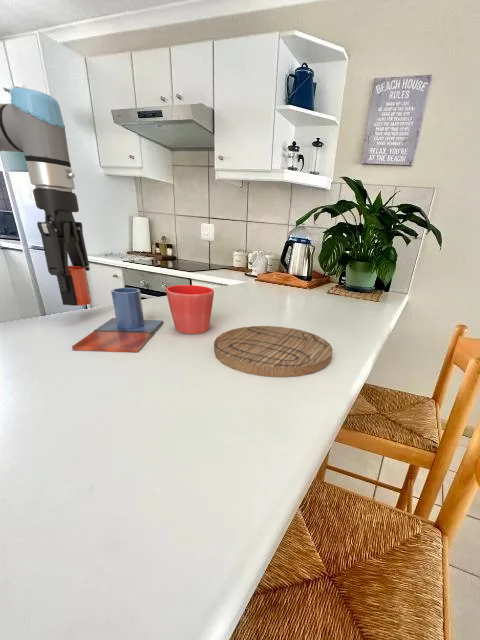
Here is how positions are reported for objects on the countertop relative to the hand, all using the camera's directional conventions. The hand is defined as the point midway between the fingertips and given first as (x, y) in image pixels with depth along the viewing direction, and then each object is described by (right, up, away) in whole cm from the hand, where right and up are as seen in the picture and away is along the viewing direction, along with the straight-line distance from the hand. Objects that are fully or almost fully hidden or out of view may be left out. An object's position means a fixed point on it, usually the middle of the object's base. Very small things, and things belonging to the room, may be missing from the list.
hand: (77, 301), depth 77 cm
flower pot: (+27, -7, +2) cm, 28 cm away
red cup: (0, 0, 0) cm, 0 cm away
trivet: (+47, -13, -8) cm, 50 cm away
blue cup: (+13, -6, -1) cm, 15 cm away
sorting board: (+14, -9, -5) cm, 17 cm away
